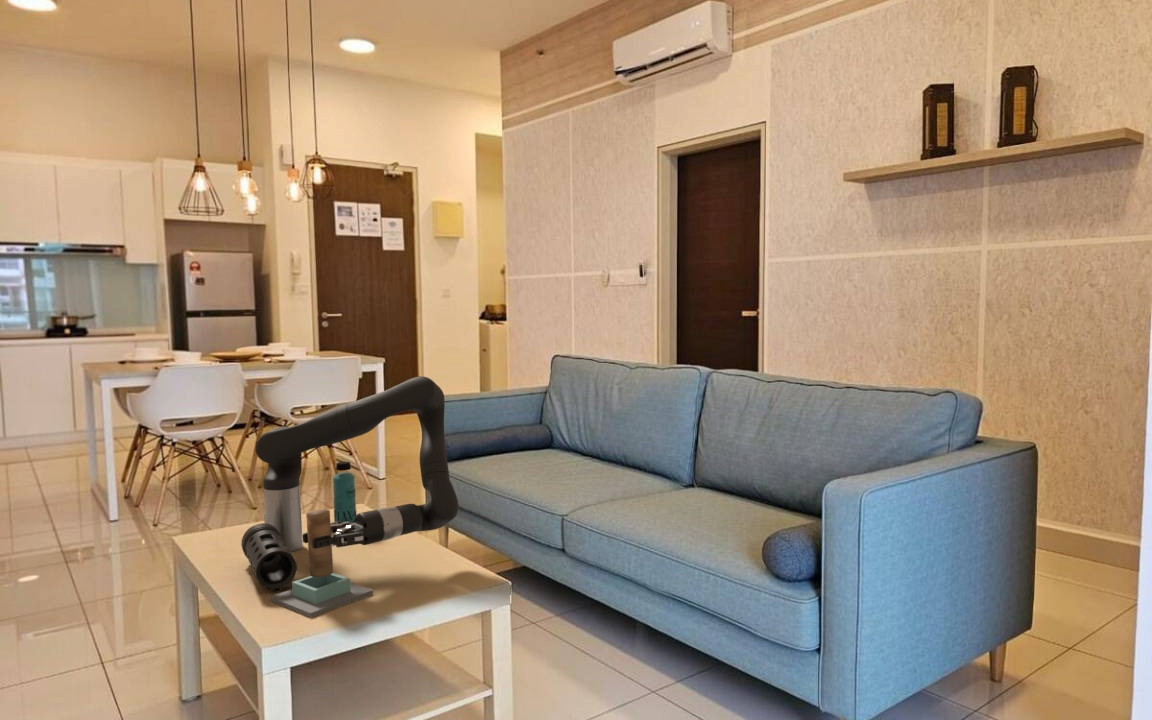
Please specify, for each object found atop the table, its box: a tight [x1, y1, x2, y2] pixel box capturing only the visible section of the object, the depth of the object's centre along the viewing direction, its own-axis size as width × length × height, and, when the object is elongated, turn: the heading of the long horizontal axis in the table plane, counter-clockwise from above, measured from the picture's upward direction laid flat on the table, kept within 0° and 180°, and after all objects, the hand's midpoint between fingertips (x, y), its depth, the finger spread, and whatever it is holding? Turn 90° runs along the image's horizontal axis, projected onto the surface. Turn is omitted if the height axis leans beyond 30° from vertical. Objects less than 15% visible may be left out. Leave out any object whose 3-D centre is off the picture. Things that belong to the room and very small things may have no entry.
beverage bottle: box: [332, 461, 358, 523], centre depth 229 cm, size 6×7×20 cm
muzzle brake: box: [240, 523, 298, 593], centre depth 191 cm, size 10×28×10 cm, turn 29°
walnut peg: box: [305, 508, 334, 577], centre depth 174 cm, size 5×5×14 cm
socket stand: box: [269, 572, 374, 619], centre depth 175 cm, size 16×16×4 cm
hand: (308, 541), depth 173 cm, fingers closed on walnut peg, 5 cm apart
